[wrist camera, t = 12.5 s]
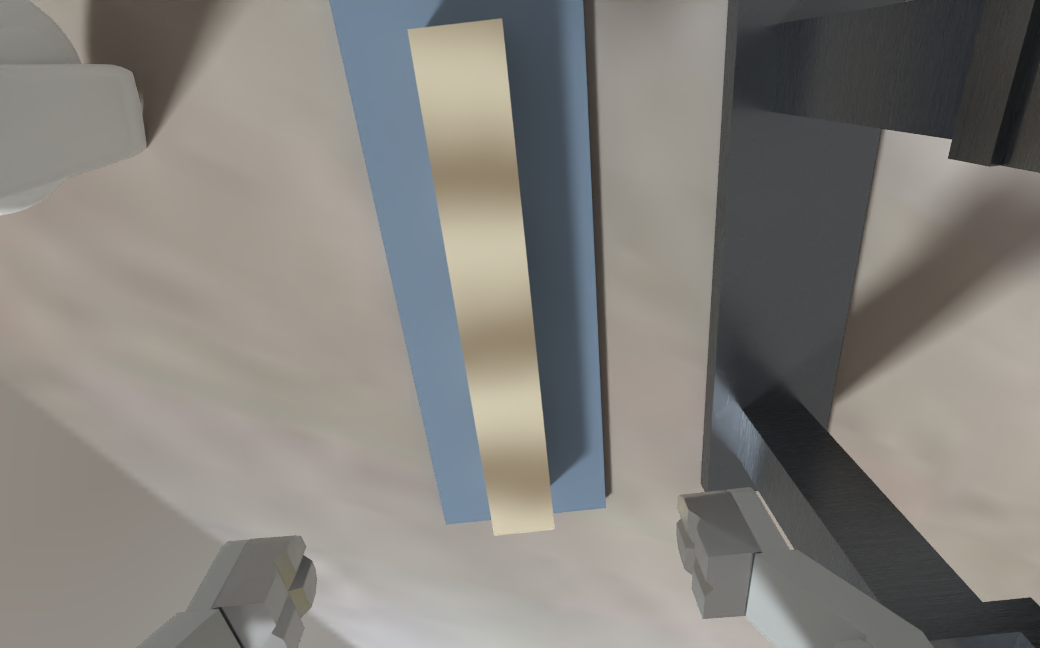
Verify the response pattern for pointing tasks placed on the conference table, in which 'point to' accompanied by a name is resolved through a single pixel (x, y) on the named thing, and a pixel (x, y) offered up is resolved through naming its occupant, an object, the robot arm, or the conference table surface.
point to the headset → (57, 109)
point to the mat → (546, 219)
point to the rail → (487, 259)
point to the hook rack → (844, 262)
